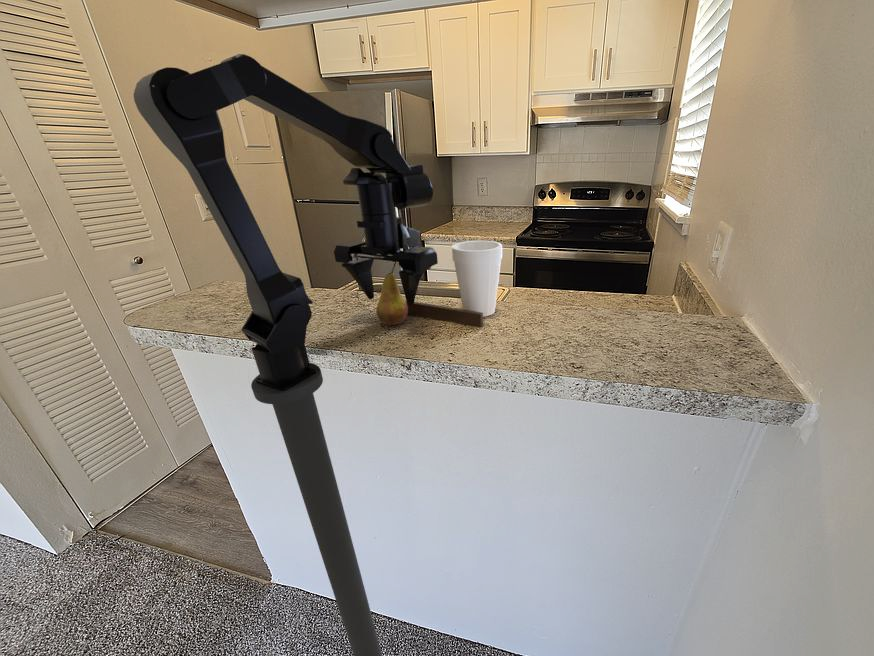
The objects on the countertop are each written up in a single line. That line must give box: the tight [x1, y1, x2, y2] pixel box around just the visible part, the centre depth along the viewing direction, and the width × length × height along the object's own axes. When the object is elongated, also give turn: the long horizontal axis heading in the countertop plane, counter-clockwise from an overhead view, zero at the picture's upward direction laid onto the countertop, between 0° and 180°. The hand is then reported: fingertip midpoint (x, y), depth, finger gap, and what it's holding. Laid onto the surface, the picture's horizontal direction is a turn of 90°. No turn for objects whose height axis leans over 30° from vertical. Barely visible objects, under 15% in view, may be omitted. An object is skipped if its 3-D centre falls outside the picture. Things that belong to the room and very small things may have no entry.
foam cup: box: [451, 239, 503, 318], centre depth 78 cm, size 10×9×13 cm
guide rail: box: [404, 299, 484, 328], centre depth 78 cm, size 1×20×2 cm, turn 63°
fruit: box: [376, 261, 408, 326], centre depth 74 cm, size 6×6×12 cm
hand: (390, 301), depth 75 cm, fingers open, 9 cm apart
